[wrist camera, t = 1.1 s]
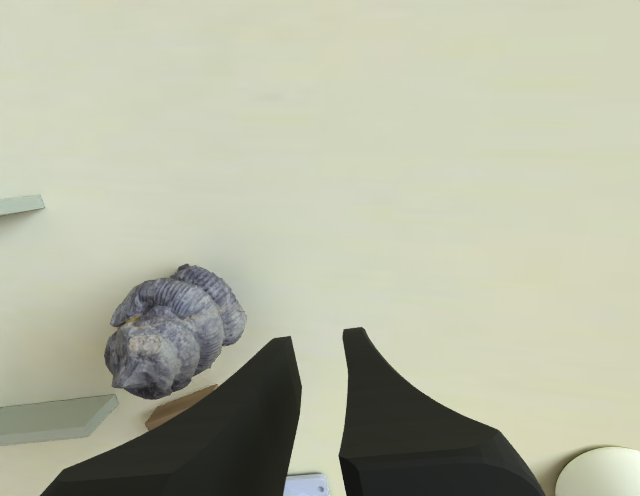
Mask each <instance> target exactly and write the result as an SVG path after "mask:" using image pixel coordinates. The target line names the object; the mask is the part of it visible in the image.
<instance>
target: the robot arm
mask: <svg viewBox="0 0 640 496" xmlns="http://www.w3.org/2000/svg"><path fill="white" fill-rule="evenodd" d="M342 338H343V344H344V350H345V355H346V361H347V367H348V394H347V407H346V416H345V425H344V432H343V437H342V442H341V448H340V452H339V460H340V465H341V470H342V475H343V480H344V485H345V490H346V495H347V496H546V495H545V494H544V492H543V490H542V488H541V486H540V484H539V483H538V481H537V479H536V478H535V476H534V474H533V473H532V472H531V470H530V469H529V467H528V466H527V464H526V463H525V462H524V460H523V459H522V458H521V457H520V455H519V454H518V453H517V451H516V450H515V449H514V448H513V446H512V445H511V444H510V443H509V442H508V440H507V439H506V438H505V437H504V435H503V434H502V433H501V432H500V431H499V430H497V429H495V428H492V427H490V426H488V425H485V424H483V423H480V422H478V421H475V420H473V419H470V418H468V417H465V416H463V415H461V414H459V413H457V412H455V411H453V410H451V409H449V408H447V407H445V406H443V405H441V404H440V403H438V402H436V401H435V400H433V399H431V398H430V397H428V396H427V395H425V394H424V393H422V392H421V391H419V390H418V389H417V388H415V387H414V386H413V385H411V384H410V383H409V382H408V381H407V380H405V379H404V378H403V377H402V376H401V375H400V374H399V373H398V372H397V371H395V370H394V368H393V367H392V366H391V365H390V364H389V363H388V362H387V361H386V360H385V359H384V358H383V357H382V355H381V354H380V353H379V352H378V350H377V349H376V348H375V346H374V345H373V344H372V342H371V341H370V339H369V337H368V335H367V333H366V331H365V329H364V328H362V327H358V328H350V329H344V331H343V337H342ZM301 392H302V385H301V381H300V376H299V372H298V367H297V362H296V358H295V353H294V349H293V344H292V340H291V336H288V337H280V338H274V339H272V340H271V341H270V342H269V343H267V344H266V345H265V346H264V347H263V348H262V349H261V350H260V351H259V352H258V353H257V354H256V355H254V356H253V357H252V358H251V359H250V360H249V361H248V362H247V363H246V364H245V365H244V366H243V367H242V368H240V369H239V370H238V371H237V372H236V373H234V374H233V375H232V376H231V377H230V378H229V379H227V380H226V381H225V382H224V383H223V384H221V385H220V386H219V387H218V388H216V389H215V390H214V391H213V392H211V393H210V394H208V395H207V396H206V397H204V398H203V399H201V400H200V401H199V402H197V403H196V404H194V405H193V406H191V407H190V408H188V409H187V410H185V411H183V412H182V413H180V414H178V415H177V416H175V417H173V418H172V419H170V420H168V421H167V422H165V423H163V424H162V425H160V426H158V427H156V428H154V429H152V430H151V431H149V432H147V433H145V434H143V435H141V436H139V437H137V438H135V439H133V440H131V441H129V442H127V443H125V444H123V445H120V446H118V447H116V448H114V449H112V450H109V451H107V452H105V453H102V454H100V455H98V456H95V457H93V458H90V459H88V460H86V461H83V462H81V463H78V464H76V465H74V466H71V467H68V468H66V469H64V470H63V471H62V472H61V473H60V474H59V475H58V476H57V477H56V478H55V479H54V481H53V482H52V483H51V484H50V485H49V486H48V487H47V488H46V490H45V491H44V492H43V493H42V494H41V495H40V496H330V494H329V489H328V485H327V480H326V477H325V476H324V475H322V474H311V475H298V476H287V472H288V467H289V463H290V458H291V454H292V449H293V444H294V440H295V435H296V430H297V425H298V420H299V415H300V406H301ZM319 486H320V487H319Z"/></svg>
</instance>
